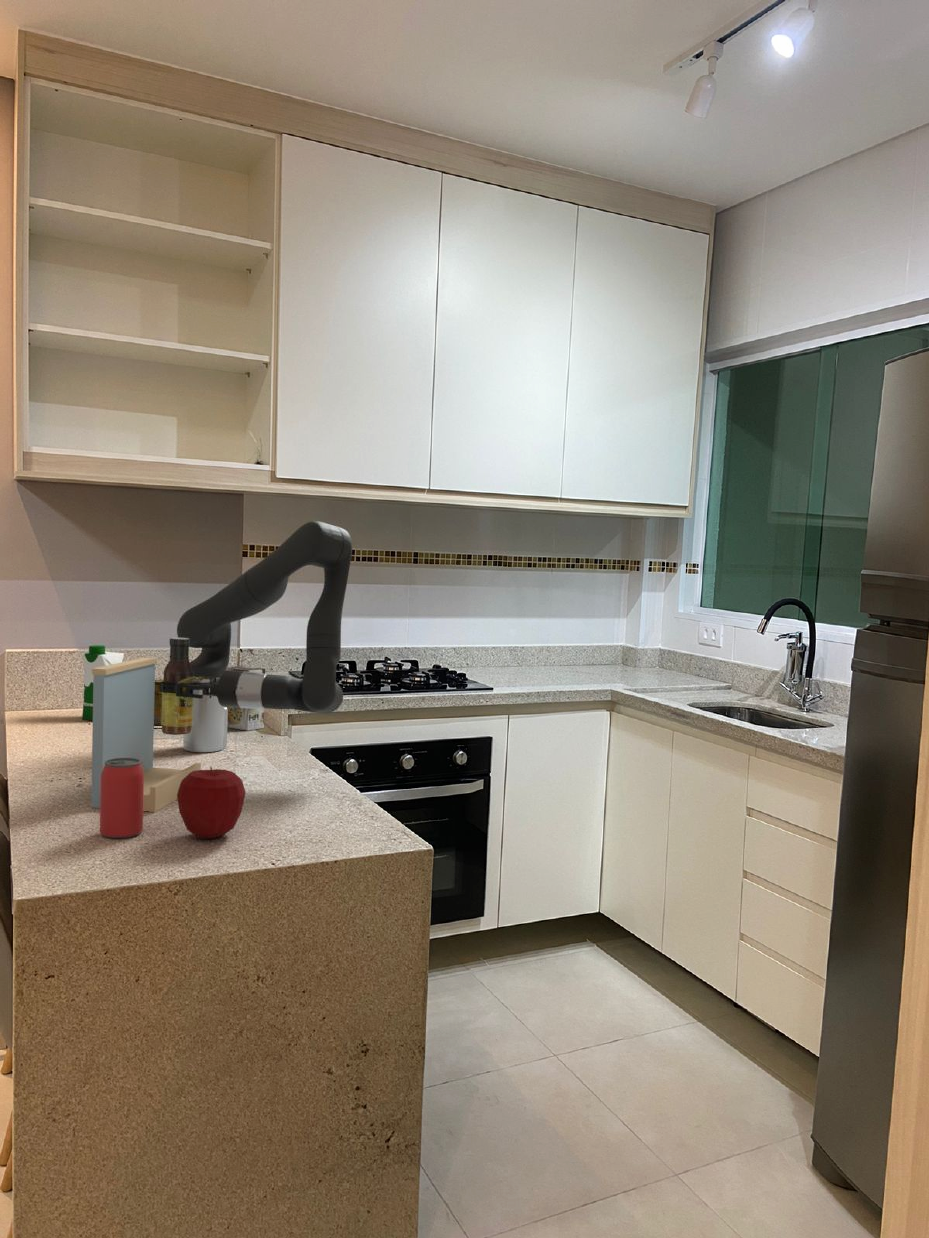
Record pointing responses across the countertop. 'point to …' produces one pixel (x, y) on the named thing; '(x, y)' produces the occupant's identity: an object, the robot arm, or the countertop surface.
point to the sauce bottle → (175, 708)
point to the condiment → (157, 704)
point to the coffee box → (245, 709)
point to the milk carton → (90, 661)
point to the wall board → (130, 729)
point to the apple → (210, 802)
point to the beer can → (121, 798)
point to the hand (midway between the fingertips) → (167, 684)
